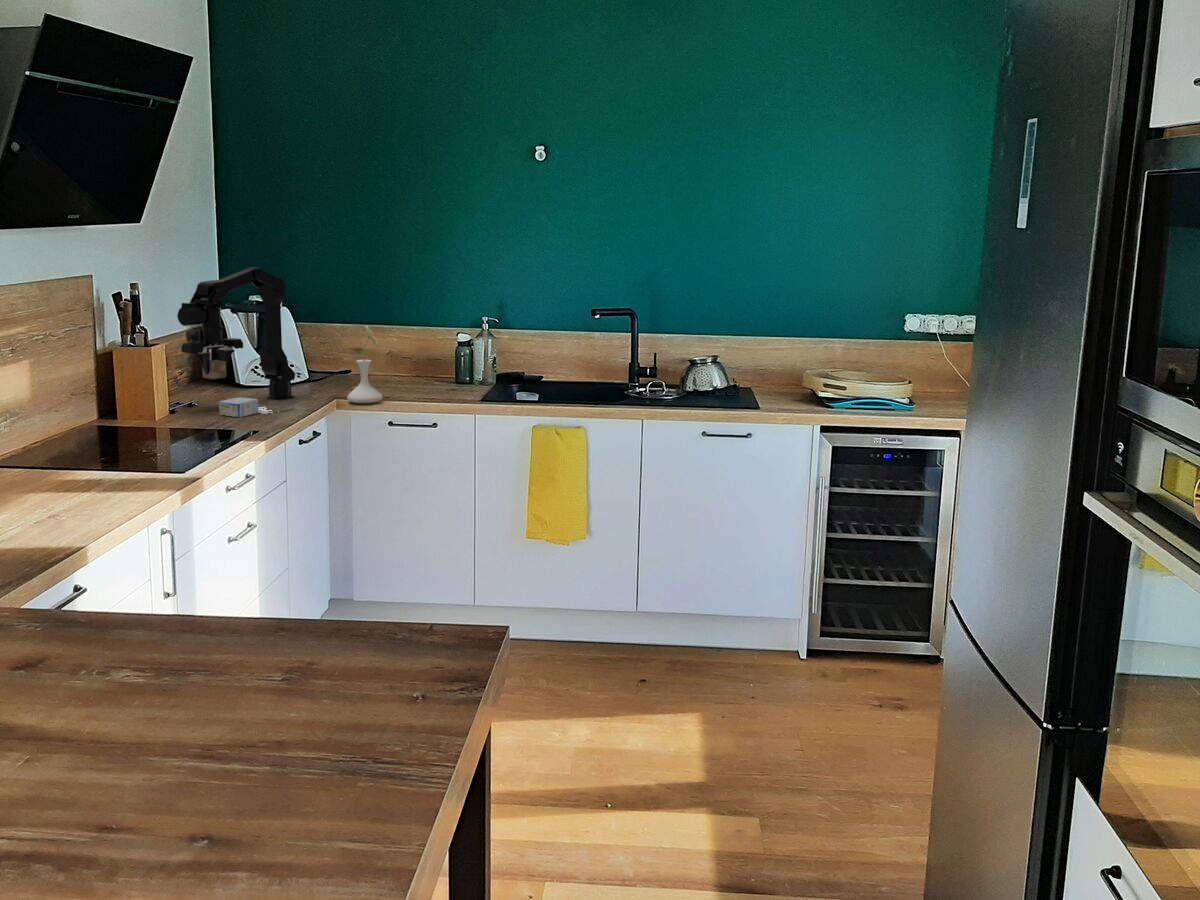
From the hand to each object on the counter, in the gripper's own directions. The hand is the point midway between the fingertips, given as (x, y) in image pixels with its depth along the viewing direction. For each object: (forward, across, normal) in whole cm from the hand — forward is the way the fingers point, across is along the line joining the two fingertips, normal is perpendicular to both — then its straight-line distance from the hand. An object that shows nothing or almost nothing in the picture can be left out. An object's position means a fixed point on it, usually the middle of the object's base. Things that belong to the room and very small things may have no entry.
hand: (214, 373), depth 363 cm
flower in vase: (+12, -39, +26) cm, 48 cm away
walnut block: (+1, 0, 0) cm, 1 cm away
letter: (+11, -10, +12) cm, 19 cm away
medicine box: (+9, -4, +12) cm, 15 cm away
